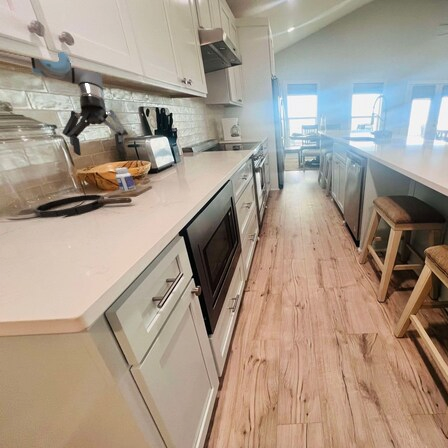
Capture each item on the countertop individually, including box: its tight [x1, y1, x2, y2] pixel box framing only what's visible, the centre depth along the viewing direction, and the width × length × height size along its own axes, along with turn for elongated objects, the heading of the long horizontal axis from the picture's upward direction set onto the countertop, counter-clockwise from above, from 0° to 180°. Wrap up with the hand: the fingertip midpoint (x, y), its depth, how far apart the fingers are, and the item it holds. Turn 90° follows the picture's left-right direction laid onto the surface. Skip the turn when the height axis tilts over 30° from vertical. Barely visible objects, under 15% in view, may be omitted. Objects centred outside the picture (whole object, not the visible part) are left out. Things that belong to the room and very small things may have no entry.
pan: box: [33, 194, 133, 219], centre depth 80 cm, size 28×17×3 cm, turn 93°
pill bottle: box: [114, 166, 137, 192], centre depth 95 cm, size 5×5×9 cm
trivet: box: [103, 185, 153, 199], centre depth 97 cm, size 12×12×1 cm
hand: (98, 152), depth 92 cm, fingers open, 13 cm apart
